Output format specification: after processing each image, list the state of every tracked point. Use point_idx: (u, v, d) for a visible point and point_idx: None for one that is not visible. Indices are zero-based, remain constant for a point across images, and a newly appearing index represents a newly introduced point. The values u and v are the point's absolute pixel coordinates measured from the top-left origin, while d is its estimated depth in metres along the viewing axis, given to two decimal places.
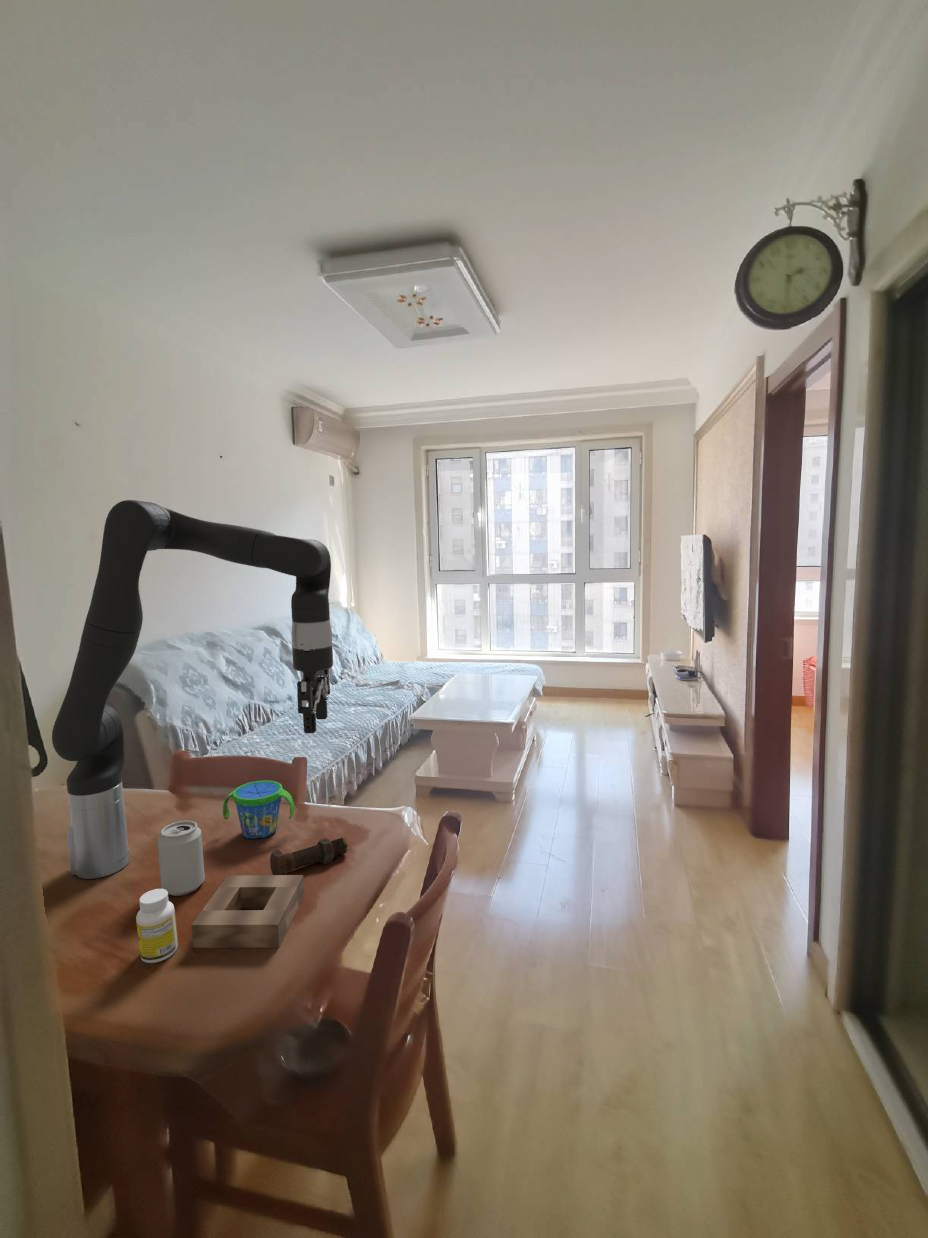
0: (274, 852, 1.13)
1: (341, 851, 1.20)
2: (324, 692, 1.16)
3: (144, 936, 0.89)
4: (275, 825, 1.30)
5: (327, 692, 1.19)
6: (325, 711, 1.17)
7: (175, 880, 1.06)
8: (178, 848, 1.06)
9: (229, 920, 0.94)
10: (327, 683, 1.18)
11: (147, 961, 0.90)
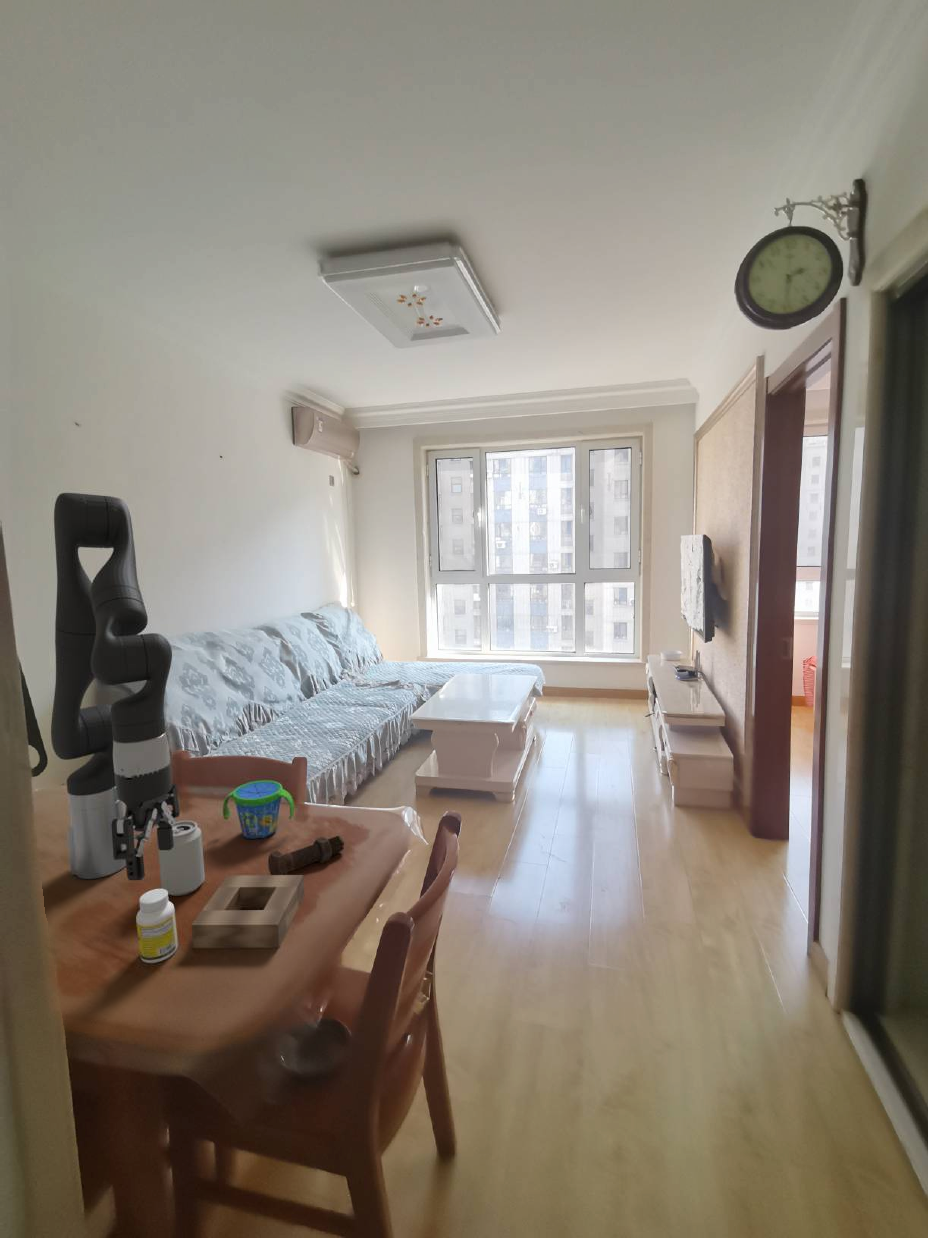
0: (273, 853, 1.13)
1: (338, 849, 1.20)
2: (165, 819, 0.93)
3: (144, 936, 0.89)
4: (275, 825, 1.30)
5: (174, 815, 0.96)
6: (169, 840, 0.94)
7: (175, 880, 1.06)
8: (178, 848, 1.06)
9: (229, 920, 0.94)
10: (174, 804, 0.96)
11: (147, 961, 0.90)
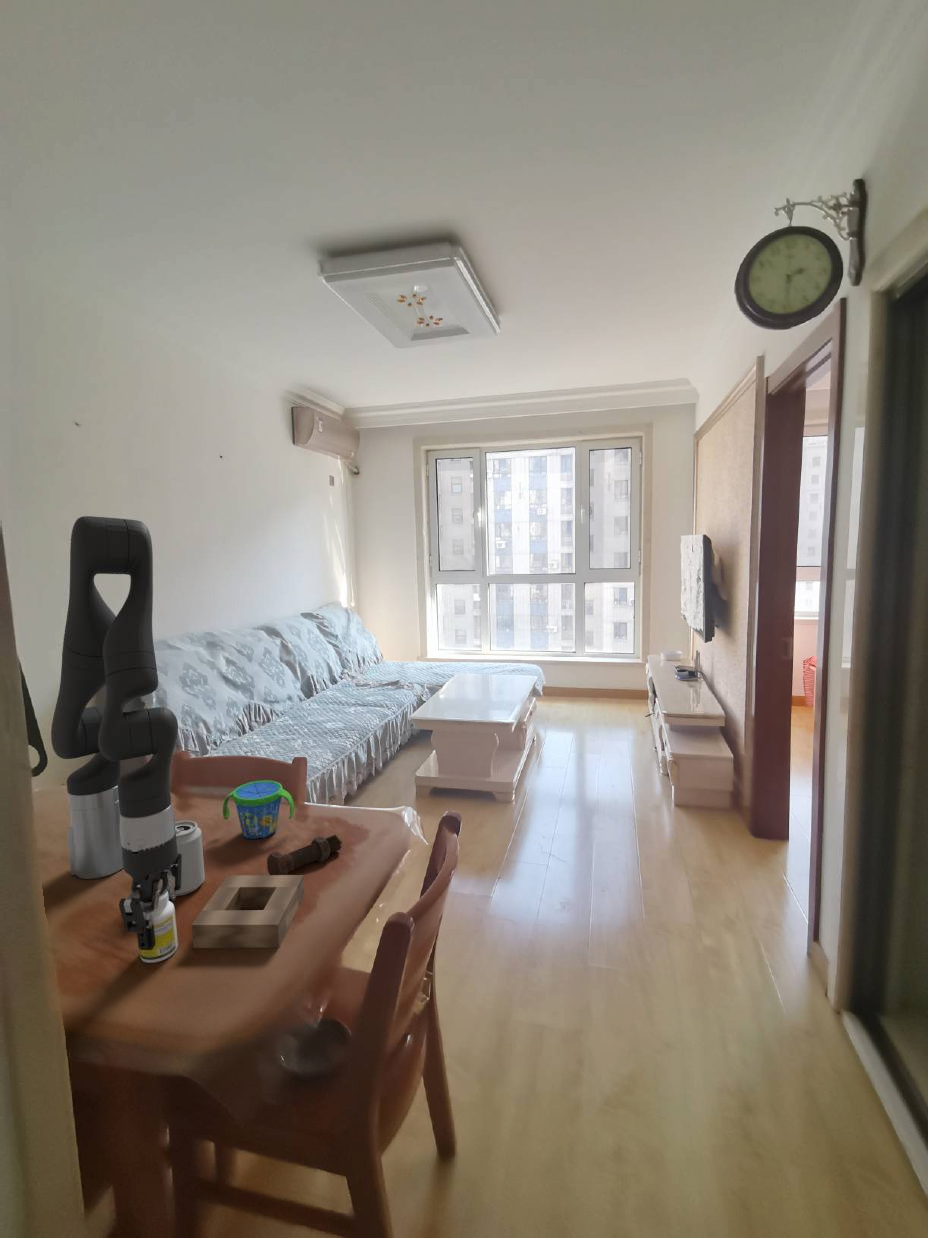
0: (272, 854, 1.12)
1: (336, 848, 1.21)
2: (168, 891, 0.93)
3: None
4: (275, 825, 1.30)
5: (176, 887, 0.96)
6: None
7: None
8: (178, 848, 1.06)
9: (229, 920, 0.94)
10: (177, 875, 0.96)
11: (147, 961, 0.90)
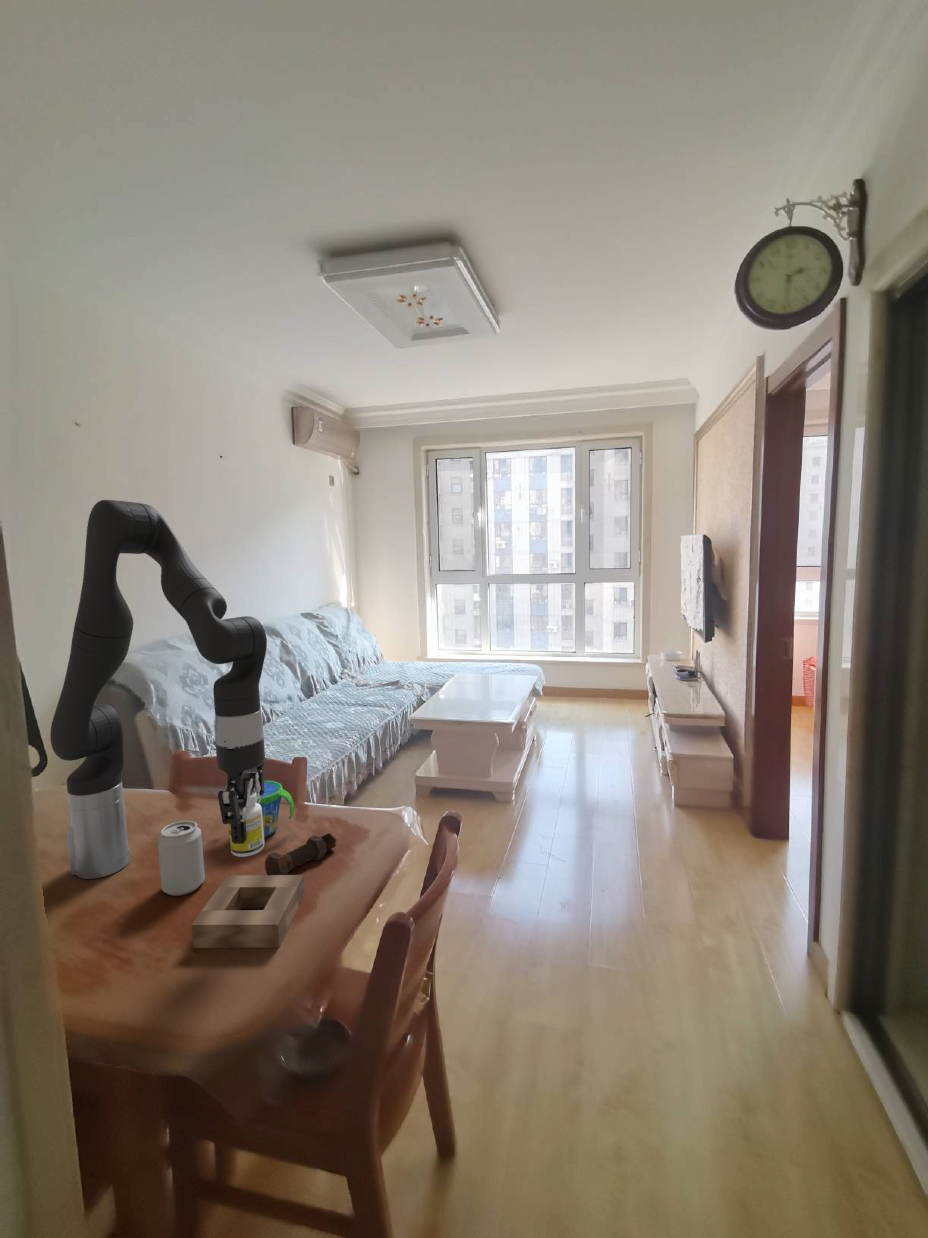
0: (271, 855, 1.12)
1: (331, 846, 1.22)
2: None
3: None
4: (275, 825, 1.30)
5: (260, 792, 1.02)
6: None
7: (175, 880, 1.06)
8: (178, 848, 1.06)
9: (229, 920, 0.94)
10: (261, 781, 1.03)
11: (239, 855, 0.96)
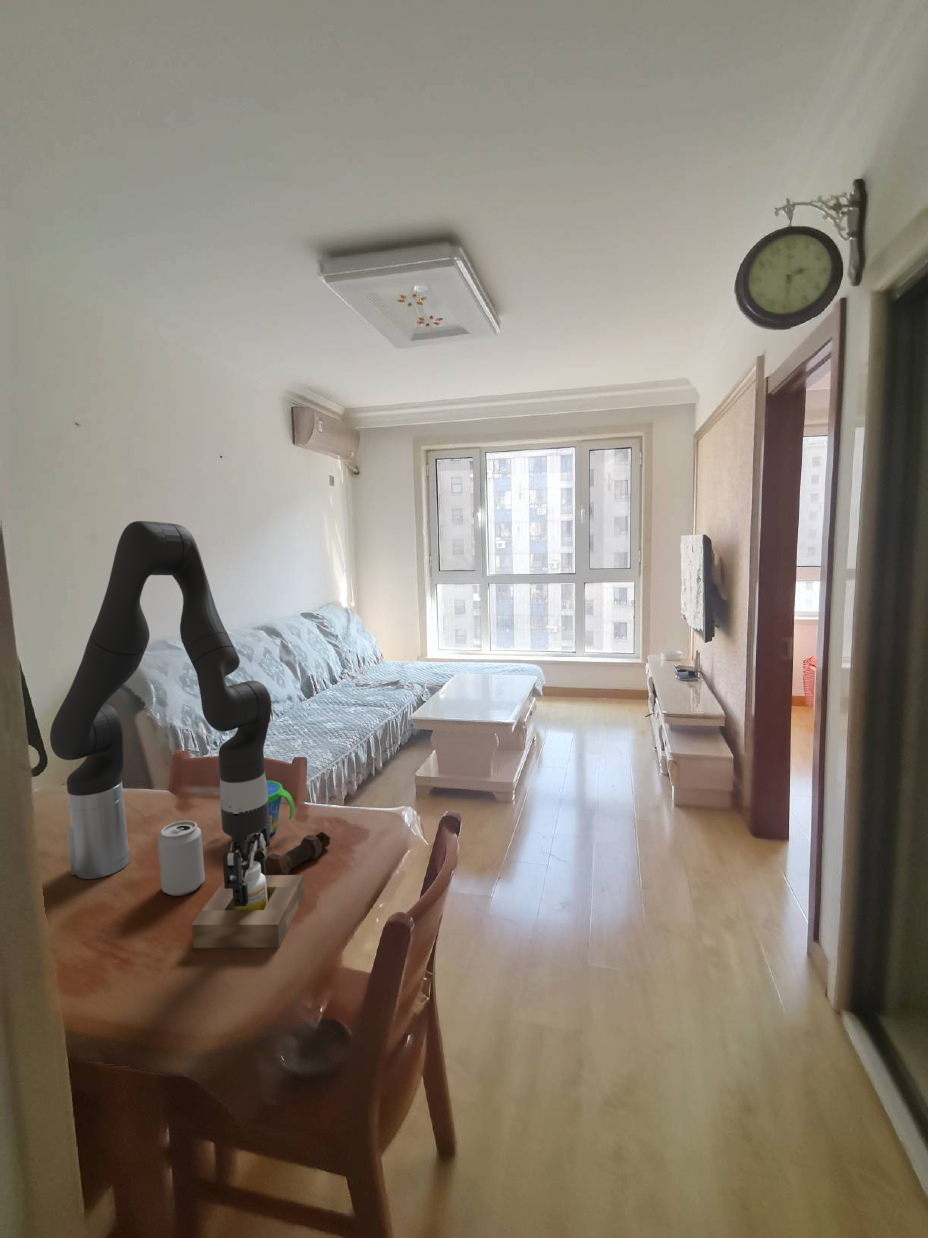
0: (271, 856, 1.12)
1: (326, 844, 1.22)
2: (261, 849, 1.02)
3: None
4: (275, 825, 1.30)
5: (266, 845, 1.05)
6: (263, 868, 1.03)
7: (175, 880, 1.06)
8: (178, 848, 1.06)
9: (229, 920, 0.94)
10: (266, 835, 1.04)
11: None
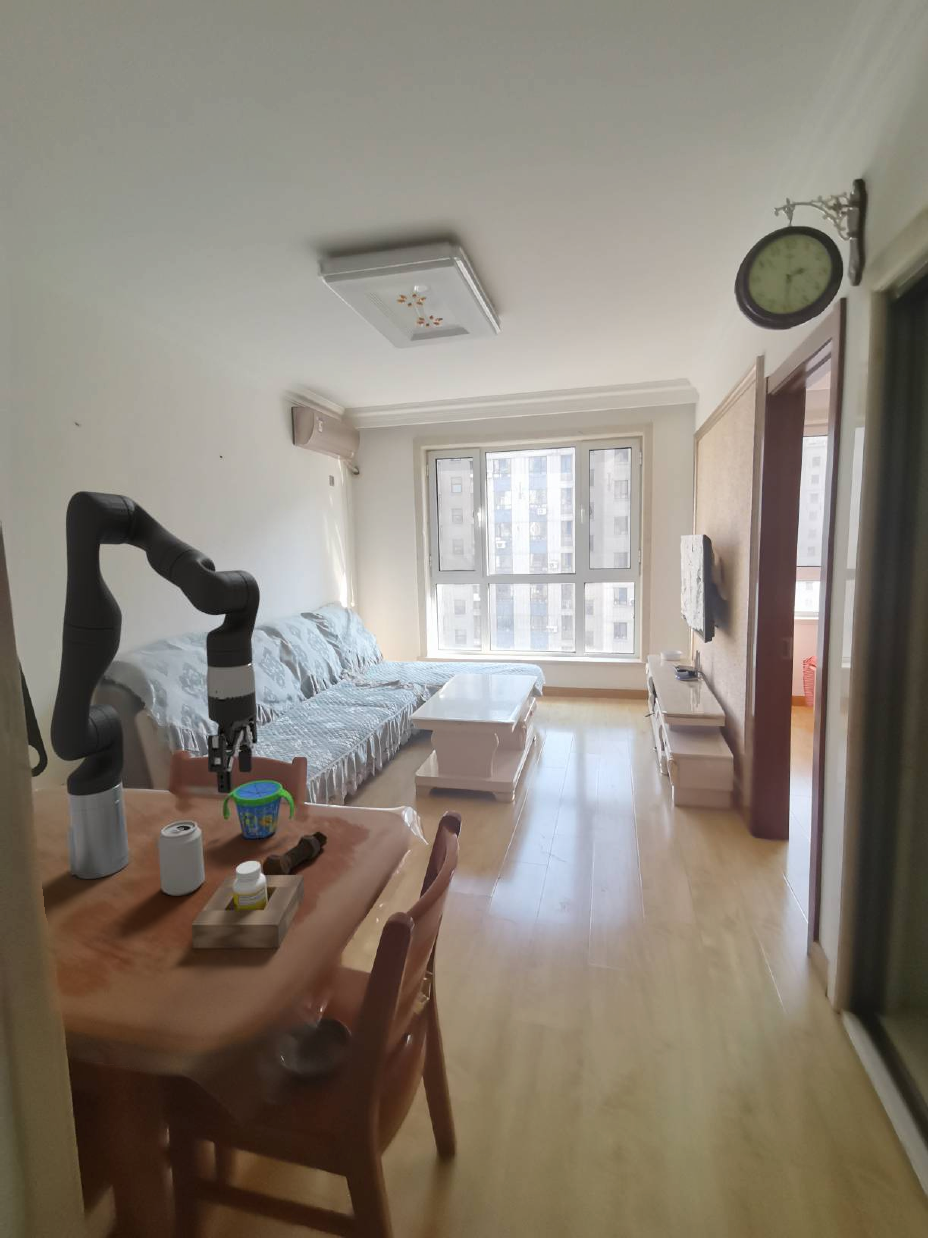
0: (270, 857, 1.11)
1: (323, 843, 1.23)
2: (247, 742, 1.02)
3: (241, 903, 0.97)
4: (275, 825, 1.30)
5: (253, 741, 1.05)
6: (249, 763, 1.03)
7: (175, 880, 1.06)
8: (178, 848, 1.06)
9: (229, 920, 0.94)
10: (253, 731, 1.04)
11: None
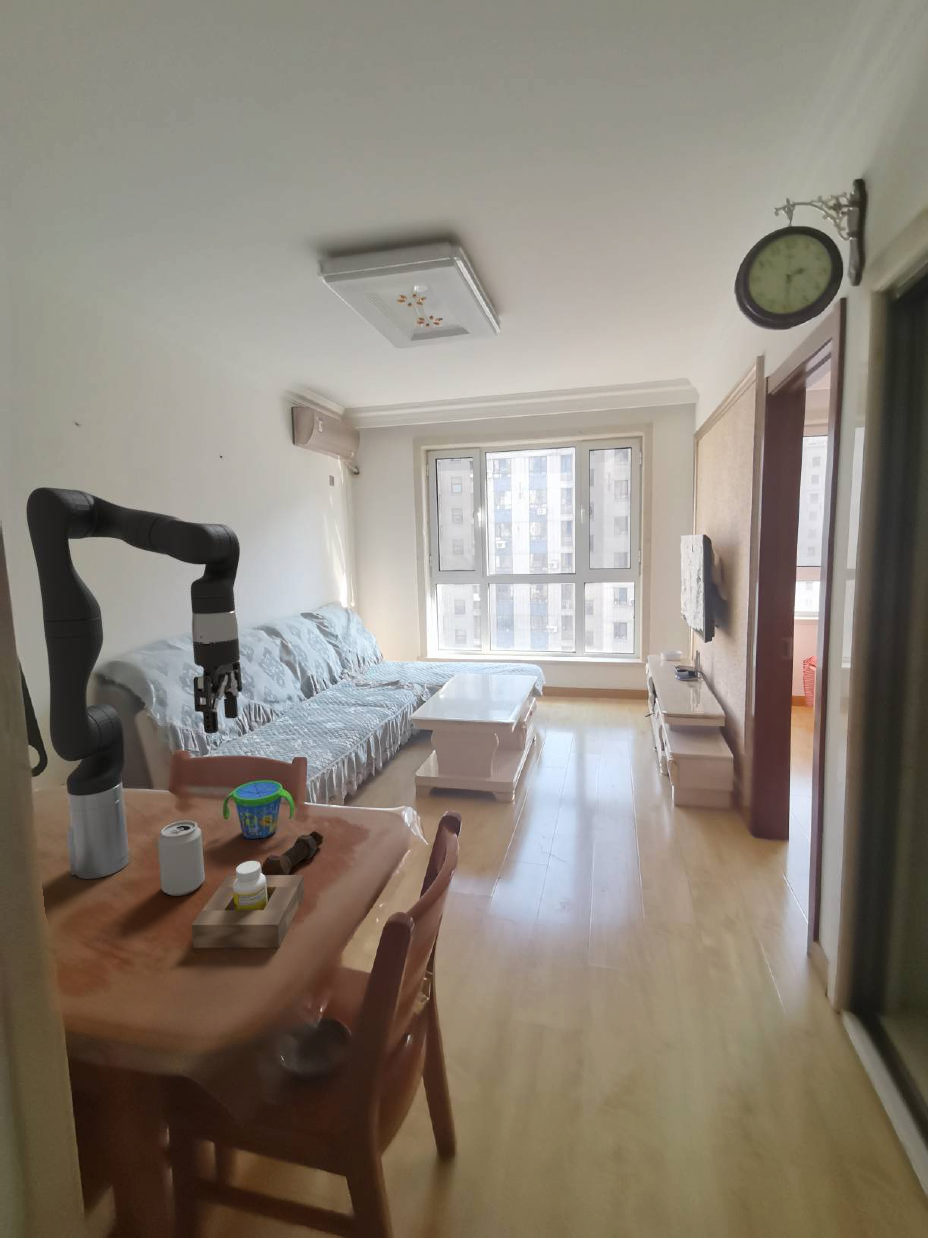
0: (270, 858, 1.11)
1: (319, 843, 1.23)
2: (232, 689, 1.07)
3: (241, 903, 0.97)
4: (275, 825, 1.30)
5: (238, 689, 1.10)
6: (235, 709, 1.09)
7: (175, 880, 1.06)
8: (178, 848, 1.06)
9: (229, 920, 0.94)
10: (238, 679, 1.10)
11: None
